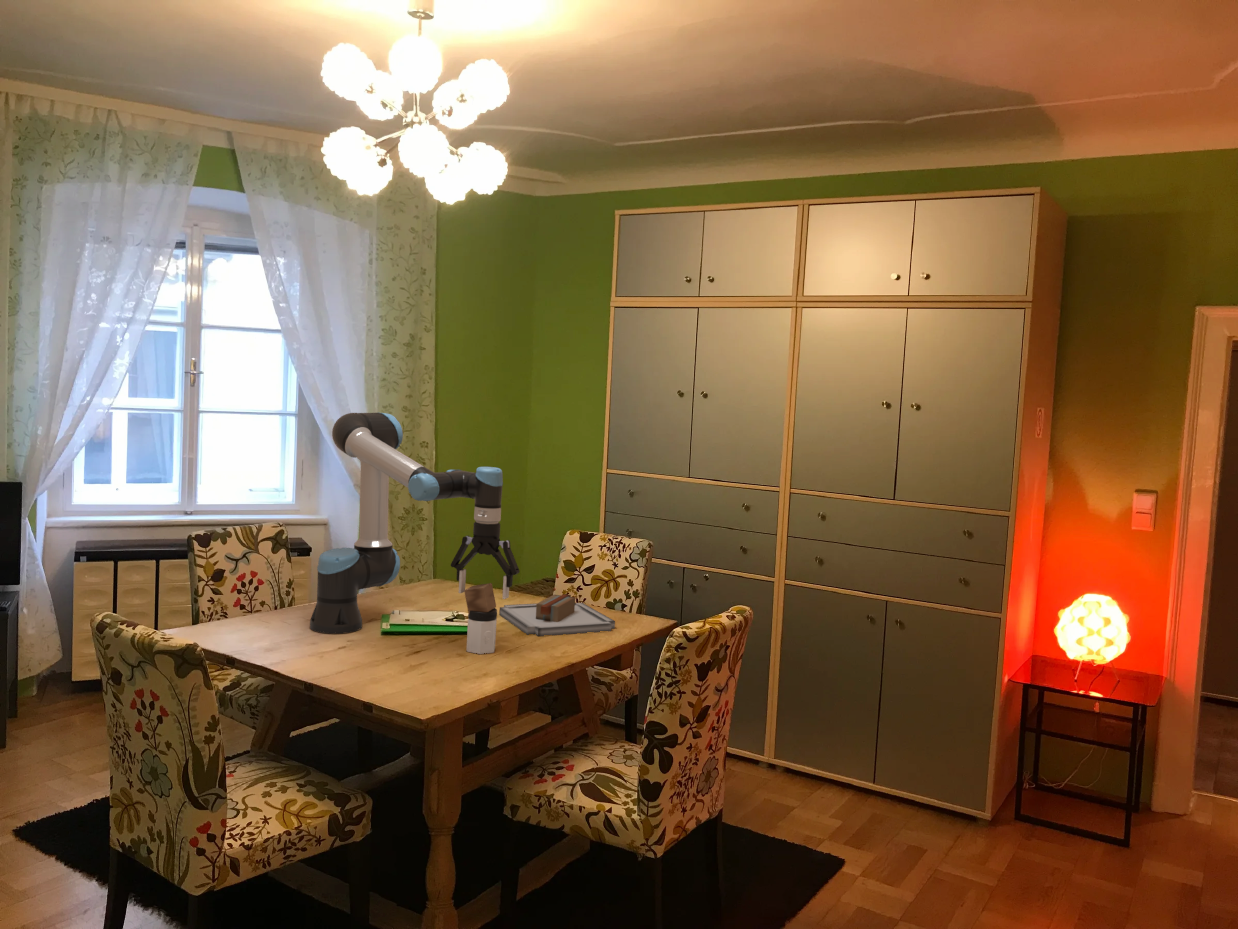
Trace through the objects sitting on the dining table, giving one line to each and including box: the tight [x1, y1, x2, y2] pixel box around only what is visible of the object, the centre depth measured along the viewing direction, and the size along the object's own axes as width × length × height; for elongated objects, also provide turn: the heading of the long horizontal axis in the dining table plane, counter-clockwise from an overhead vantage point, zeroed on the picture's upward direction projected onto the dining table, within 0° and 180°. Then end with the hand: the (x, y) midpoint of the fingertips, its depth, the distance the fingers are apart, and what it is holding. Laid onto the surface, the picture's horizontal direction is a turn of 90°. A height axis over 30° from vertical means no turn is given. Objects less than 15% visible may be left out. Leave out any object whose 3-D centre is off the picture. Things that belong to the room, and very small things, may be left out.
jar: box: [466, 607, 498, 655], centre depth 282 cm, size 9×8×12 cm
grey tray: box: [498, 593, 616, 637], centre depth 319 cm, size 30×30×8 cm
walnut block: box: [463, 582, 497, 614], centre depth 281 cm, size 6×6×7 cm
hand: (483, 595), depth 281 cm, fingers open, 13 cm apart
